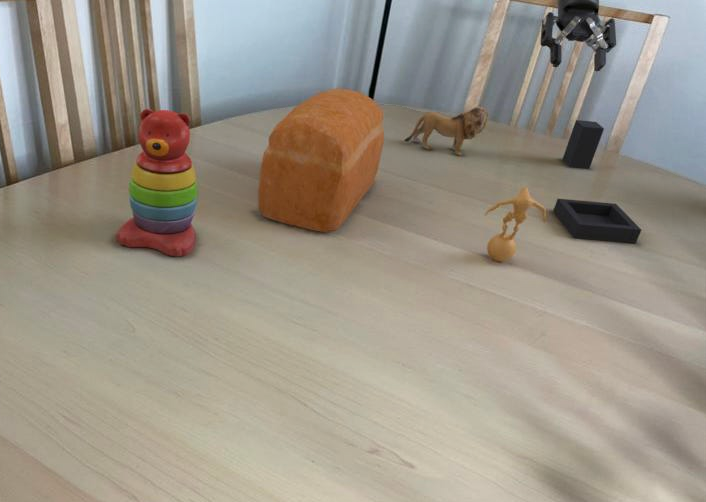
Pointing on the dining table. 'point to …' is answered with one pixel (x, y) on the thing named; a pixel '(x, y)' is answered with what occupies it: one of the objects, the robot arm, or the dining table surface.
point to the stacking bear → (162, 187)
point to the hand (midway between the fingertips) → (578, 67)
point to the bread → (321, 160)
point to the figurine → (504, 244)
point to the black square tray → (596, 221)
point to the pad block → (582, 144)
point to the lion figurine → (451, 126)
